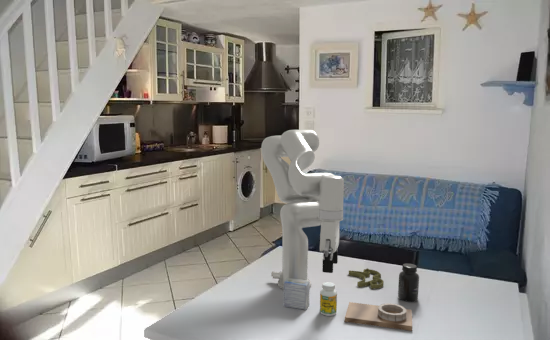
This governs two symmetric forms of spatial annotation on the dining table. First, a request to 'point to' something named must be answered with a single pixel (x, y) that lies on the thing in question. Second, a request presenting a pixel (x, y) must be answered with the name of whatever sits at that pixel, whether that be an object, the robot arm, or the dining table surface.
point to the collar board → (373, 318)
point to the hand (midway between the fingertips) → (330, 267)
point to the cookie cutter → (367, 273)
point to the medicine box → (296, 293)
